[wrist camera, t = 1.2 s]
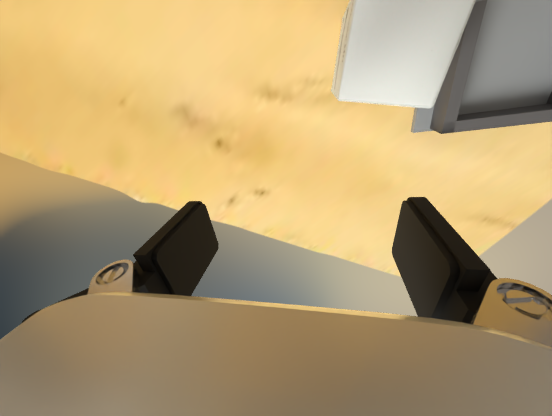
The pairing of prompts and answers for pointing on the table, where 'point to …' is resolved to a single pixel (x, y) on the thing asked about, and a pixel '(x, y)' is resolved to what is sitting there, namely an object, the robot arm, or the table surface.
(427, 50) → the supplement box
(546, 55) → the box holder
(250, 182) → the table surface
